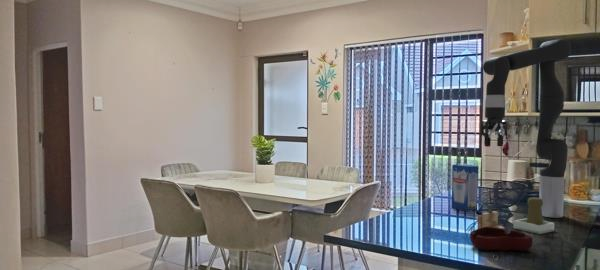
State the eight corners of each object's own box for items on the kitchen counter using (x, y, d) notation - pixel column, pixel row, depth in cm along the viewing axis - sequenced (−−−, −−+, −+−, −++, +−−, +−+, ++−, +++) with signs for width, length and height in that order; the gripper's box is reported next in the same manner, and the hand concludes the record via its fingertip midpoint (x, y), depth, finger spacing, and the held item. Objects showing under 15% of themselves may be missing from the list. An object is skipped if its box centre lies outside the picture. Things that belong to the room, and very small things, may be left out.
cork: (545, 229, 173) (545, 199, 173) (526, 228, 175) (527, 198, 175) (542, 225, 179) (542, 196, 178) (524, 224, 181) (525, 195, 180)
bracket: (493, 226, 181) (493, 202, 181) (505, 228, 177) (506, 205, 176) (477, 228, 176) (478, 204, 175) (490, 231, 171) (491, 207, 171)
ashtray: (511, 241, 160) (511, 226, 160) (537, 254, 143) (537, 238, 143) (459, 240, 159) (459, 225, 159) (479, 254, 143) (479, 238, 143)
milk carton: (451, 207, 219) (452, 164, 219) (461, 206, 222) (462, 164, 221) (467, 211, 210) (468, 166, 210) (477, 210, 213) (478, 166, 212)
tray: (528, 225, 183) (528, 217, 183) (554, 230, 175) (554, 222, 175) (513, 228, 178) (513, 220, 177) (539, 234, 169) (539, 225, 169)
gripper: (492, 105, 184) (491, 147, 185) (513, 106, 192) (512, 146, 193) (476, 106, 191) (474, 146, 191) (497, 107, 199) (496, 145, 199)
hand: (493, 146), depth 192 cm, fingers open, 8 cm apart
